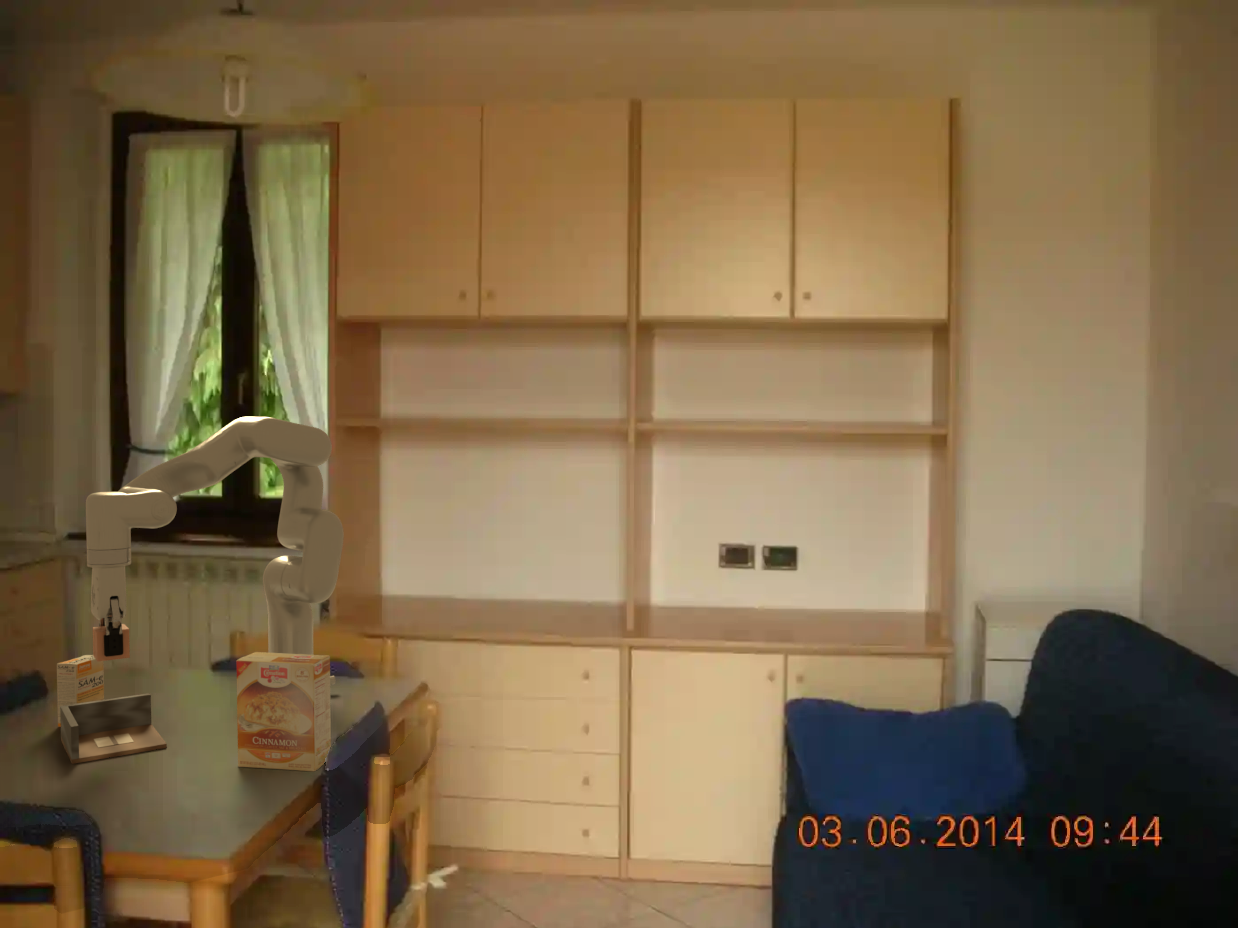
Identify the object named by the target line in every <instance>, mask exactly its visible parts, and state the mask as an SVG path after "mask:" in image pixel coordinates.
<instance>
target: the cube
mask: <svg viewBox="0 0 1238 928" xmlns="http://www.w3.org/2000/svg"><path fill="white" fill-rule="evenodd" d="M122 633H123V654H122V655H116V656H108V657H106V656H105V655H104V635H106V633H105V626H100V627H99V626H92V655H93V656H94V657H95V659H96V660H97V661H103V662H105V661H106V662H107V661H113V660H122V659H123V660H124V659H130V658H131V657H130V656H131V654H130V651H131V649H130V628H129V627H128V626H127V624H125V623H122Z"/></svg>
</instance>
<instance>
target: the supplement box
mask: <svg viewBox="0 0 1238 928" xmlns="http://www.w3.org/2000/svg"><path fill="white" fill-rule="evenodd" d="M104 669H105V668H104V661H97V660H96V659H95V657H94V656H93V654H84V655H81V656H78V657H74V658H71V659H68V660H65V661H61V662H58V663H56V688H57V689H56V691H57V693H56V694H57V700H56V701H57V727H59V728H61V720H60V706H63V705H70V704H77V703H84V702H91V701H98V700H105V683H104V681H105V679H104V675H105V674H104Z"/></svg>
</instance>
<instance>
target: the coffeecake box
mask: <svg viewBox="0 0 1238 928" xmlns="http://www.w3.org/2000/svg"><path fill="white" fill-rule="evenodd" d="M235 662H236V708H237V709H236V717H237V718H236V719H237V724H236V725H237V730H236V731H237V767H239V768H253V769H254V768H255V769H256V768H257V769H270V770H271V769H272V770H286V771H301V772H316V771H317V770H319V769H320V768H321V767H322V766H324V765H325V764H324V762H325V758H326V757H327V754H328V751H329V749H330V747H331V748H332V735H331V734H332V732H331V731H332V729H331V728H332V726H331V725H332V723H331V721H332V720H331V716H332V715H331V685H330V676H331V656H330V655H329V654H328V655H325V654H324V655H323V654H321V655H320V654H313V655H307V654H287V653H269V652H268V651H267V652H265V651H264V652H263V651H262V652H261V651H254V652H252V653H250V654H247V655H244V656H241V657H240V658H237V660H236V661H235Z"/></svg>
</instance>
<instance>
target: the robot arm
mask: <svg viewBox="0 0 1238 928" xmlns="http://www.w3.org/2000/svg"><path fill="white" fill-rule="evenodd" d="M332 450H333V446H332V441H331V438H330V437H329V435H328V434H327V433H326V432H325V431H324V430H323V429H321V428H318V427H316V426H311V425H306V424H300V423H297V422H293V421H287V420H283V419H278V418H275V417H269V416H242V417H239V418H236V419H233V420H232V421H231V422H229V423H228V424H226V425H225V426H224V427H223V426H222V428H221V429H219V430H218V431H216V432H215V433H213V434H212V435H210V436H209V437H207V438H206V439H205V440H203V441H202V442H200V443H199V444H198V445H196V446H194V447H192V448H191V449H190V450H187V452H184V453H182V454H180V455H177V456H174V457H172V458H171V459H169V460H167V461H165V462H163V463H160V464H158V465H156V466H153V467H151V468H150V469H148V470H146V471H145V472H143V473H141V474H140V475H138V476H136V477H135V478H133V479H132V480H130V481H129V482H128V483H127V484H125V485H123V486H122V487H120V489H119V490H118V491H99V492H92V493H90V494H89V495H88V496H87V497H86V499H85V523H86V524H85V525H86V526H85V528H86V530H85V531H86V535H85V537H86V566H87V567H88V568H92V569H91V586H90V587H91V589H90V590H91V591H90V597H91V598H90V599H91V600H90V611H91V612H90V613H91V615H92V616H93V617H94V618H95V619H96V620H98V621H99V623H98V627H100V626H105V633H106V635H104V655H105V656H106V657H108V656H116V655H122V654H123V633H122V624H123V621H122V620H123V619H124V618H125V616H126V615H127V583H126V581H127V579H126V566H130V565H131V564H132V543H131V541H132V537H131V533H132V531H131V530H132V529H135V528H137V529H139V528H140V529H158V528H159V529H160V528H162V527H165V526H167V525H169V524H170V523H171V522H172V521H173V520H174V519H175V516H176V514H177V510H178V508H177V503H176V501H175V499H174V498H175V497H177V496H180V495H183V494H186V493H190V492H194V491H199V490H203V489H206V488H209V487H212V486H214V485H218V484H219V483H220V482H222V481H223V480H224V479H225V478H227V477H228V476H229V475H230V474H232V473H233V472H234V471H236V470H238V469H239V468H240V467H242V466H243V465H244V464H246V463H247V462H249V461H250V460H251V459H253V458H267V459H270V460H271V461H272V462H273V463H274V464H275V466H276V467H277V468H278V470H279V472H280V474H281V477H282V480H283V481H282V483H283V493H282V499H281V505H280V512H279V516H278V524H277V533H276V536H277V539H278V542H279V543H280V544H281V545H282V546H283V547H285V548H287V549H289V550H295V551H301V552H302V556H296V555H281V556H279V557H275V558H273V559H272V560H271V561H269V563H268V564H267V565H266V567H264V568H265V569H264V570H263V574H262V586H263V591H264V596H265V601H266V607H267V609H266V610H267V627H268V630H267V640H268V643H267V647H268V651H267V653H287V654H307V655H314V617H313V615H314V614H313V610H312V607H311V604H321V603H323V602H326V600H328V599H329V598H330V597H331V596H332V594H333V593H334V591H335V589H336V586H337V582H338V579H339V578H338V576H339V570H340V564H341V558H342V552H343V547H344V538H345V534H344V527H343V524H342V521H341V519H340V518H339V516H338V515H337V514H336V513H334V512H332V511H330V510H328V509H322V505H323V495H324V481H323V476H322V472H321V470H320V468H319V466H322V465H323V464H325V462H327V461H328V460H329V458H330V456H331V455H332ZM87 567H86V568H87ZM336 682H337V680H336V676H335V675H330V686H332V685H336Z"/></svg>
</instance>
